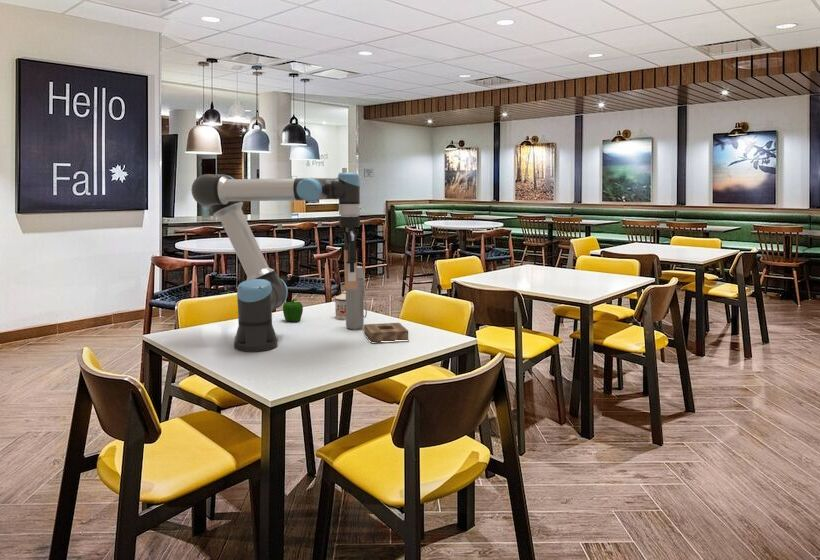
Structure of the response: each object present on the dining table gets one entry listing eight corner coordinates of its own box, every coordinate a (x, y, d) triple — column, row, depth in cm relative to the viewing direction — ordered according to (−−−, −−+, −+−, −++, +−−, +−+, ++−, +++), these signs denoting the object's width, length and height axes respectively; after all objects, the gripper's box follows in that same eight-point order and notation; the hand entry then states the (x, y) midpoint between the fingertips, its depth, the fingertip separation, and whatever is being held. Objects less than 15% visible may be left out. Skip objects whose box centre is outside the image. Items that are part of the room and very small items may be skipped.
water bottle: (341, 328, 250) (341, 267, 246) (352, 325, 257) (352, 265, 253) (361, 331, 246) (361, 269, 242) (371, 327, 253) (371, 266, 249)
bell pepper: (282, 319, 266) (281, 296, 265) (301, 318, 269) (301, 295, 267) (284, 323, 258) (283, 300, 257) (304, 322, 261) (303, 299, 259)
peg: (346, 289, 225) (345, 251, 223) (344, 287, 229) (344, 250, 227) (357, 289, 226) (356, 250, 224) (355, 287, 230) (354, 249, 228)
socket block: (371, 343, 228) (371, 332, 227) (364, 334, 241) (364, 324, 241) (408, 341, 231) (408, 330, 231) (399, 332, 245) (399, 322, 244)
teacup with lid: (332, 319, 267) (332, 292, 265) (337, 315, 276) (337, 289, 274) (360, 320, 265) (360, 293, 264) (364, 316, 274) (364, 290, 272)
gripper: (364, 216, 216) (365, 283, 220) (356, 214, 233) (357, 276, 236) (342, 217, 215) (344, 284, 218) (336, 215, 231) (337, 277, 235)
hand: (350, 279), depth 227 cm, fingers closed on peg, 4 cm apart
